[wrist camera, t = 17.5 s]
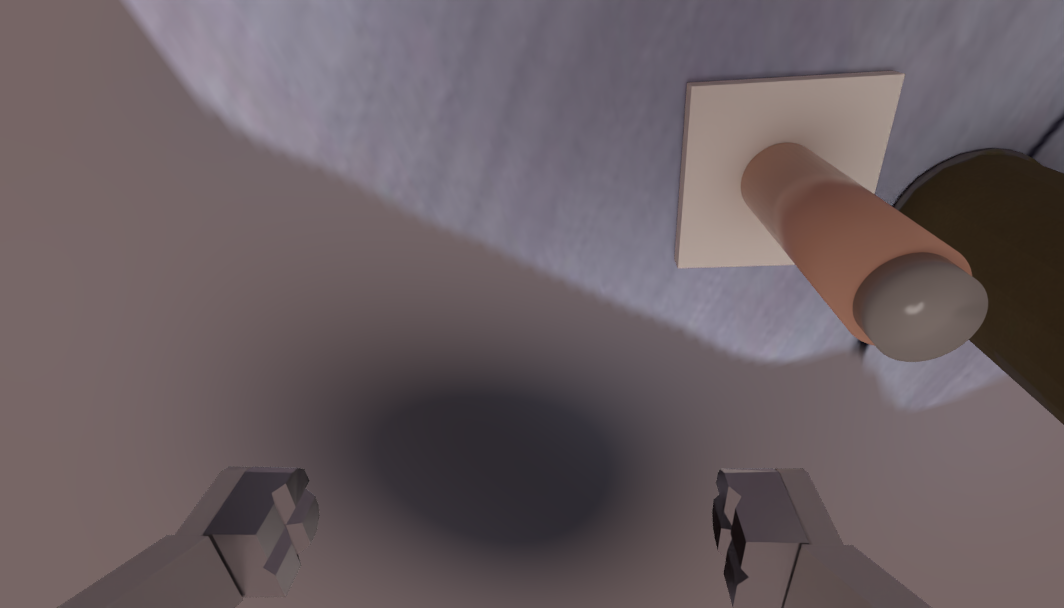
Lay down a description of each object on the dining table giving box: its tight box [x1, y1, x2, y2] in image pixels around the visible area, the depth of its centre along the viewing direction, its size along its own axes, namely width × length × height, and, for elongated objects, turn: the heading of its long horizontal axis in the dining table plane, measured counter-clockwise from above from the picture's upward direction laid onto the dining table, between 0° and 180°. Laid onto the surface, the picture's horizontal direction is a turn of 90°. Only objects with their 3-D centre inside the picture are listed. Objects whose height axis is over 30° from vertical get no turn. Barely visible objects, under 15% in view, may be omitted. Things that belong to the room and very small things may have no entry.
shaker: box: [741, 143, 988, 362], centre depth 28 cm, size 5×5×17 cm
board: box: [674, 71, 905, 268], centre depth 35 cm, size 12×12×2 cm
